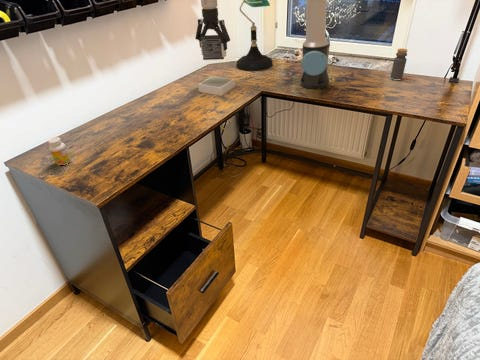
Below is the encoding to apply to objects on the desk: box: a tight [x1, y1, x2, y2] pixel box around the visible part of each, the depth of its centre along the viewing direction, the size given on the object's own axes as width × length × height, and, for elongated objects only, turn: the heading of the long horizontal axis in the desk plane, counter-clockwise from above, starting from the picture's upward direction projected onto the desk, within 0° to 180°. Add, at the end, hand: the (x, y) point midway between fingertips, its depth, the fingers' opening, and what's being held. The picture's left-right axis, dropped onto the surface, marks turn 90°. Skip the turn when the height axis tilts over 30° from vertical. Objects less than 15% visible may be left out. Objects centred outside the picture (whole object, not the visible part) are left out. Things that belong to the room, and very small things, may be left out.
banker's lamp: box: [235, 0, 274, 72], centre depth 197 cm, size 26×23×40 cm
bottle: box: [390, 48, 409, 79], centre depth 173 cm, size 6×6×15 cm
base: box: [197, 75, 236, 96], centre depth 177 cm, size 14×14×4 cm
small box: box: [201, 34, 225, 61], centre depth 166 cm, size 11×6×10 cm, turn 84°
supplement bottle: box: [48, 136, 72, 166], centre depth 122 cm, size 5×5×10 cm
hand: (214, 55), depth 168 cm, fingers closed on small box, 12 cm apart
